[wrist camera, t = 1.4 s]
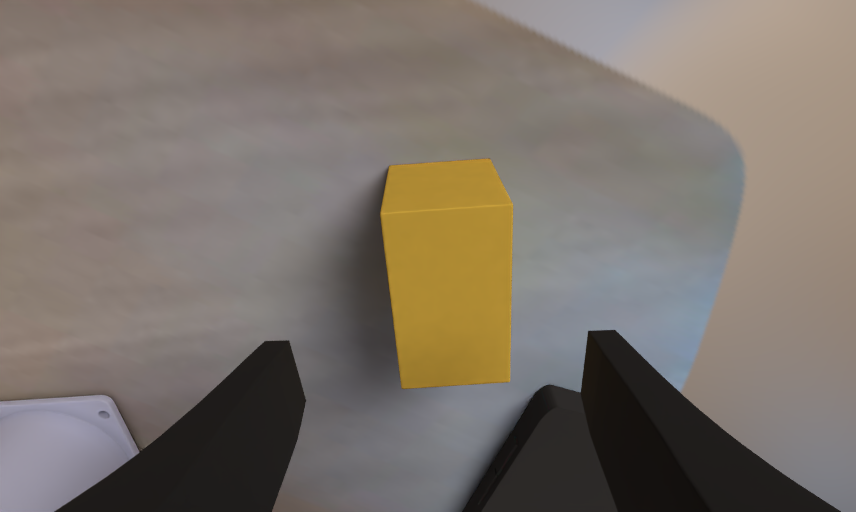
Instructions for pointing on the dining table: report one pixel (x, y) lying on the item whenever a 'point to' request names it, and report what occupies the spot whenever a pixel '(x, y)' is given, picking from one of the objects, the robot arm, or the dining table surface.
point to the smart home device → (546, 462)
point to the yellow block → (449, 272)
